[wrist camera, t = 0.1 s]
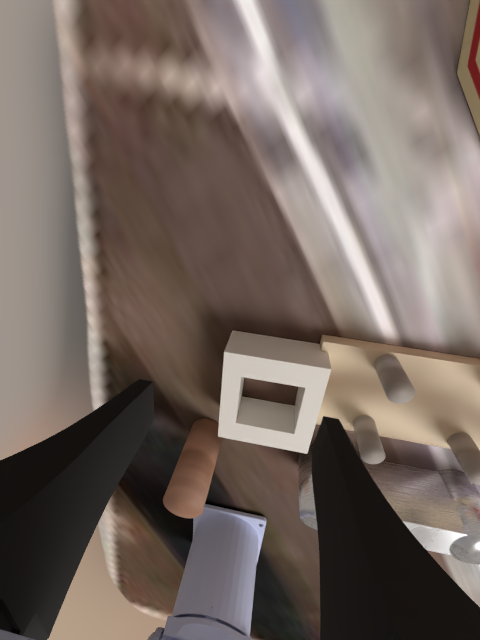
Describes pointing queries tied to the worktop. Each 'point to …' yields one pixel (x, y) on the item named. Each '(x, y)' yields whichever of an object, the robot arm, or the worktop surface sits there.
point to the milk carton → (471, 61)
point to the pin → (194, 470)
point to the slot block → (280, 367)
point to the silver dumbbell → (417, 504)
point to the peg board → (416, 415)
